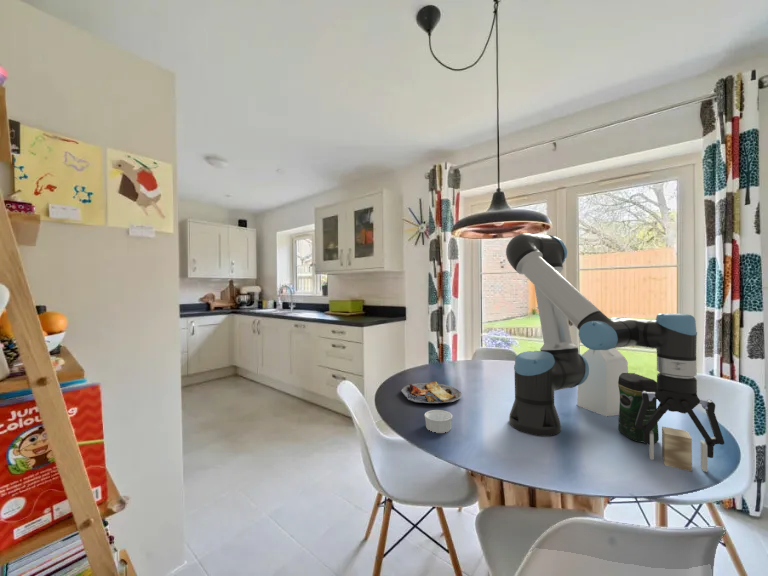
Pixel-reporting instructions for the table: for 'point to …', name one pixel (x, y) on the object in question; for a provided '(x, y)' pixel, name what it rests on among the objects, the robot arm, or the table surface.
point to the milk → (602, 381)
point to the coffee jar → (635, 404)
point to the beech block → (677, 448)
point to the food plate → (435, 388)
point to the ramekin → (438, 421)
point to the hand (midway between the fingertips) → (676, 462)
